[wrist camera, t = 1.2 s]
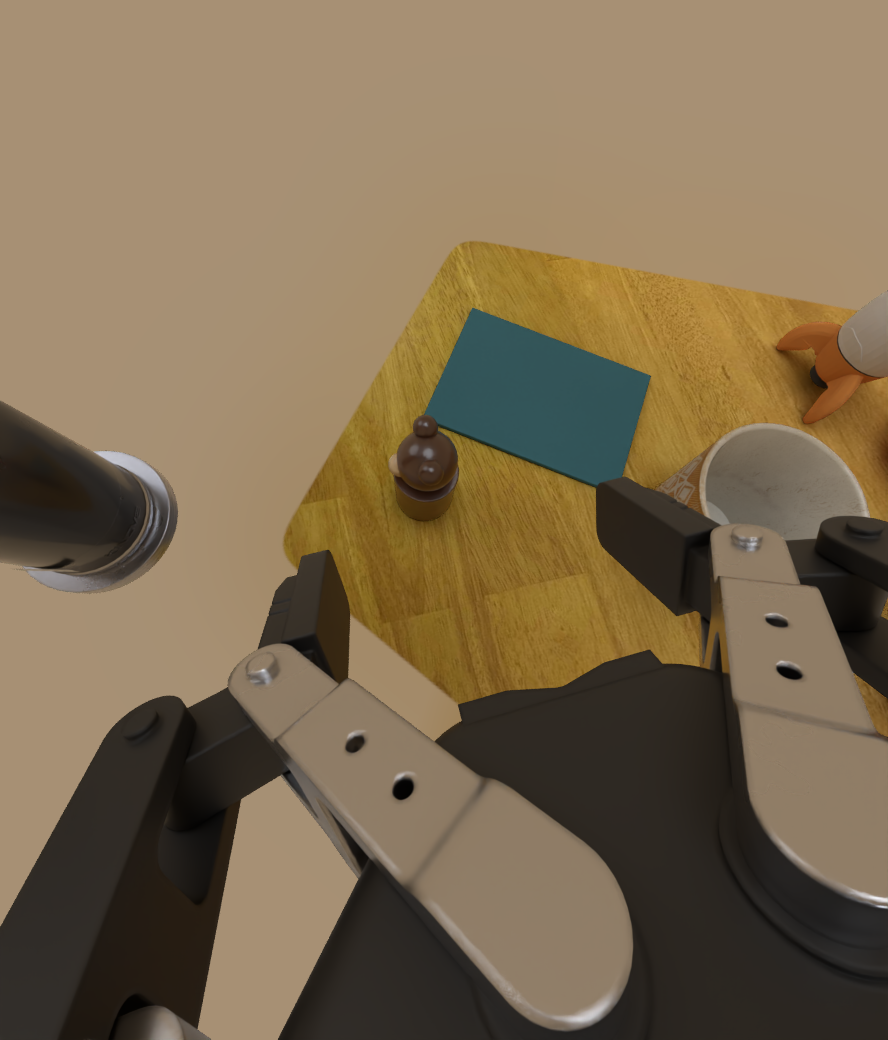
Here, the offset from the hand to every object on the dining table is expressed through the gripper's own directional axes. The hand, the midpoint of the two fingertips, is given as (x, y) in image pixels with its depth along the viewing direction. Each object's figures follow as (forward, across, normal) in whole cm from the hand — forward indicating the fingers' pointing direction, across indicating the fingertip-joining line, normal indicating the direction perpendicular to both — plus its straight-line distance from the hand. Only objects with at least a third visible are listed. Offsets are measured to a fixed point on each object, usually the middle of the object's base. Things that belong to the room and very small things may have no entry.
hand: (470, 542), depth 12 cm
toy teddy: (+25, 0, +9) cm, 27 cm away
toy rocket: (+28, -44, +9) cm, 53 cm away
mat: (+30, -14, +4) cm, 34 cm away
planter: (+20, -24, +17) cm, 36 cm away
